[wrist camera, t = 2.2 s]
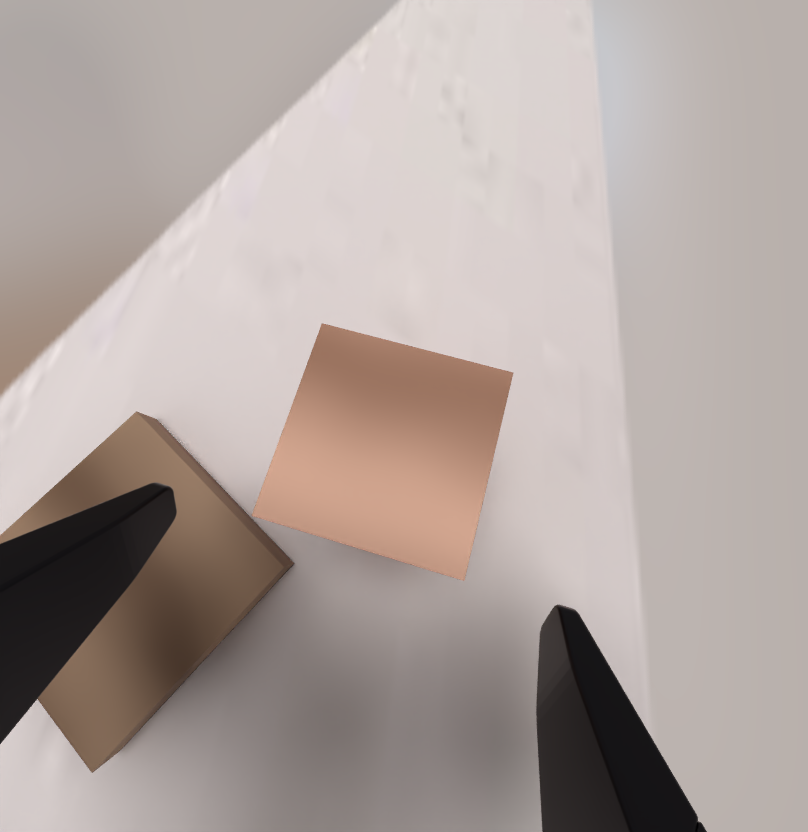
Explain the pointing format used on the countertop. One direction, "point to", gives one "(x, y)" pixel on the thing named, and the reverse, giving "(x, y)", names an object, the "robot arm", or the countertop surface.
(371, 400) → the pillar
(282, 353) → the countertop surface
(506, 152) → the countertop surface
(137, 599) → the base board
